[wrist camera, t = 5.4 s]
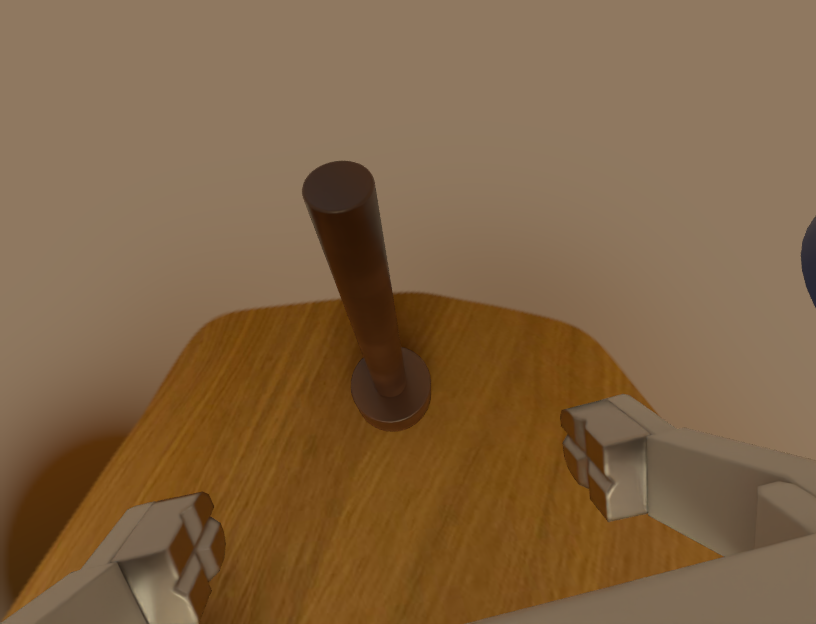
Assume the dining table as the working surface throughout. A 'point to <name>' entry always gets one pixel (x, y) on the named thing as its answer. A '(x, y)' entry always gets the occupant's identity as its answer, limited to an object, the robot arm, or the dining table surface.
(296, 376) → the dining table surface
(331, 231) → the upright rod on disc
